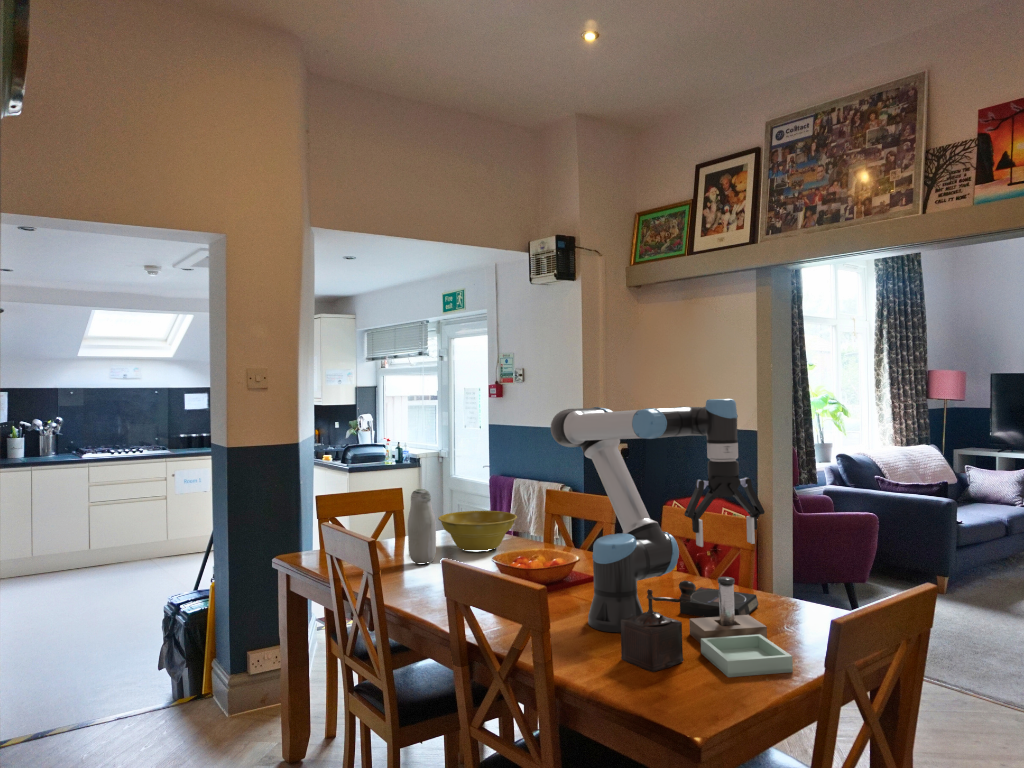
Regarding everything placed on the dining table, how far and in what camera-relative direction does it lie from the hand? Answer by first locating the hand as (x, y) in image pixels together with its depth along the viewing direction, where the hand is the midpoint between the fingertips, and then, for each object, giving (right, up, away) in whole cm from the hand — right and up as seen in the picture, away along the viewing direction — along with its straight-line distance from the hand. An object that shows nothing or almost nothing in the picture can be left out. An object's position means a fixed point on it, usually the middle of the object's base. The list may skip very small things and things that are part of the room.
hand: (725, 544), depth 183 cm
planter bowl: (-67, -27, +114) cm, 135 cm away
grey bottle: (-87, -27, +90) cm, 128 cm away
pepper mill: (-19, -24, -13) cm, 33 cm away
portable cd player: (+5, -25, +24) cm, 35 cm away
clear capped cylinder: (+1, -24, 0) cm, 24 cm away
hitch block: (+1, -24, 0) cm, 24 cm away
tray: (0, -23, -17) cm, 29 cm away
